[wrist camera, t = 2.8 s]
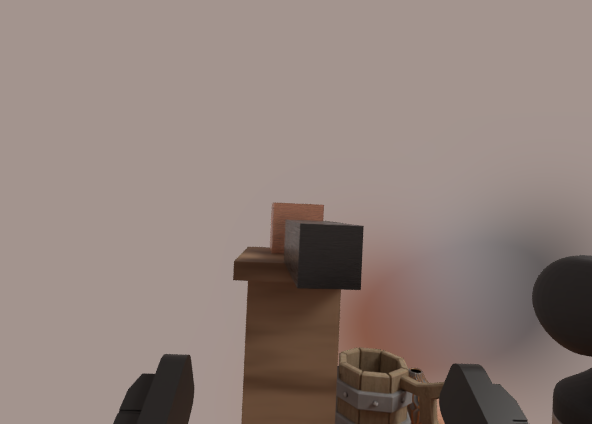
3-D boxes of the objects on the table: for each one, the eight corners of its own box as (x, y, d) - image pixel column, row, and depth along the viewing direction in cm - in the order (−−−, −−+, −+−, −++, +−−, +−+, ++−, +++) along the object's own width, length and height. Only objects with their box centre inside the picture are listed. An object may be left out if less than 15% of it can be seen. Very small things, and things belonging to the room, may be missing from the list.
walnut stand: (341, 663, 28) (358, 266, 28) (215, 664, 28) (234, 261, 28) (323, 529, 40) (335, 250, 40) (235, 528, 40) (248, 246, 40)
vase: (420, 436, 59) (422, 383, 59) (386, 416, 64) (388, 367, 64) (441, 421, 63) (443, 372, 63) (407, 404, 68) (409, 359, 68)
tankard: (310, 443, 55) (315, 348, 55) (364, 417, 63) (368, 334, 63) (425, 539, 40) (431, 406, 40) (478, 489, 47) (483, 378, 47)
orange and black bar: (373, 290, 19) (377, 199, 19) (283, 288, 19) (287, 195, 19) (312, 248, 41) (314, 205, 41) (269, 247, 41) (271, 203, 41)
